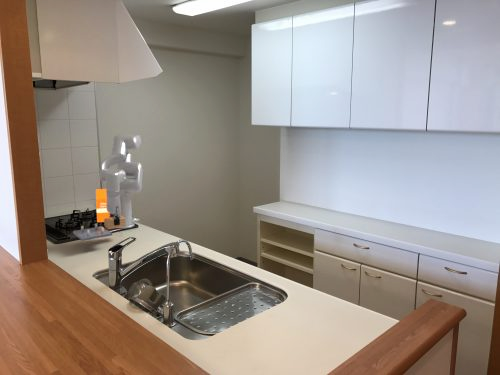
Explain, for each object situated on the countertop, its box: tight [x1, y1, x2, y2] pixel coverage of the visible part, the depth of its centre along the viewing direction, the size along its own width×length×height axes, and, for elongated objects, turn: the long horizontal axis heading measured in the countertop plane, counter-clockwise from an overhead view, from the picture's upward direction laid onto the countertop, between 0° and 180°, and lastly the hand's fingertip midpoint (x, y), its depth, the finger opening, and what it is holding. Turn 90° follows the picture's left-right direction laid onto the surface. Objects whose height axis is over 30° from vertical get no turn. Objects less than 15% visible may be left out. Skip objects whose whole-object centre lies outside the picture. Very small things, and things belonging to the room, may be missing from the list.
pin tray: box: [72, 222, 113, 242], centre depth 226 cm, size 16×16×4 cm
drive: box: [103, 216, 125, 231], centre depth 238 cm, size 10×6×5 cm, turn 129°
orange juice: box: [95, 188, 109, 223], centre depth 256 cm, size 8×9×20 cm
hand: (114, 223), depth 238 cm, fingers closed on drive, 6 cm apart
